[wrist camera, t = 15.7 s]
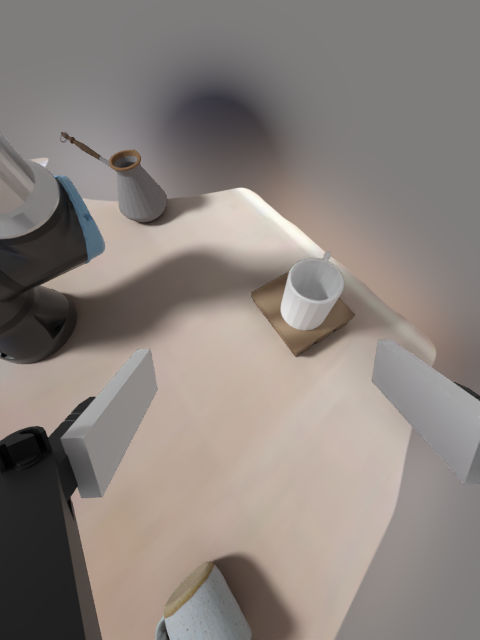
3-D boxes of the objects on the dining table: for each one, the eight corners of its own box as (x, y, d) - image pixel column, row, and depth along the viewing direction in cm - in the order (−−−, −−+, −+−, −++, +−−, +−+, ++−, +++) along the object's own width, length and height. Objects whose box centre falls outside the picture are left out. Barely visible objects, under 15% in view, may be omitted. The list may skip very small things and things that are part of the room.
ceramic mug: (215, 546, 34) (206, 574, 27) (253, 614, 31) (253, 665, 24) (147, 610, 32) (118, 659, 25) (181, 690, 29) (158, 771, 22)
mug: (337, 285, 48) (358, 250, 39) (316, 338, 43) (334, 311, 34) (298, 270, 49) (309, 233, 40) (273, 319, 45) (279, 289, 36)
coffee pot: (178, 202, 64) (160, 138, 50) (154, 234, 59) (126, 173, 46) (111, 181, 68) (77, 117, 54) (83, 209, 64) (39, 146, 50)
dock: (251, 301, 51) (251, 292, 47) (302, 272, 53) (305, 262, 50) (293, 358, 45) (296, 352, 42) (347, 323, 48) (355, 314, 45)
